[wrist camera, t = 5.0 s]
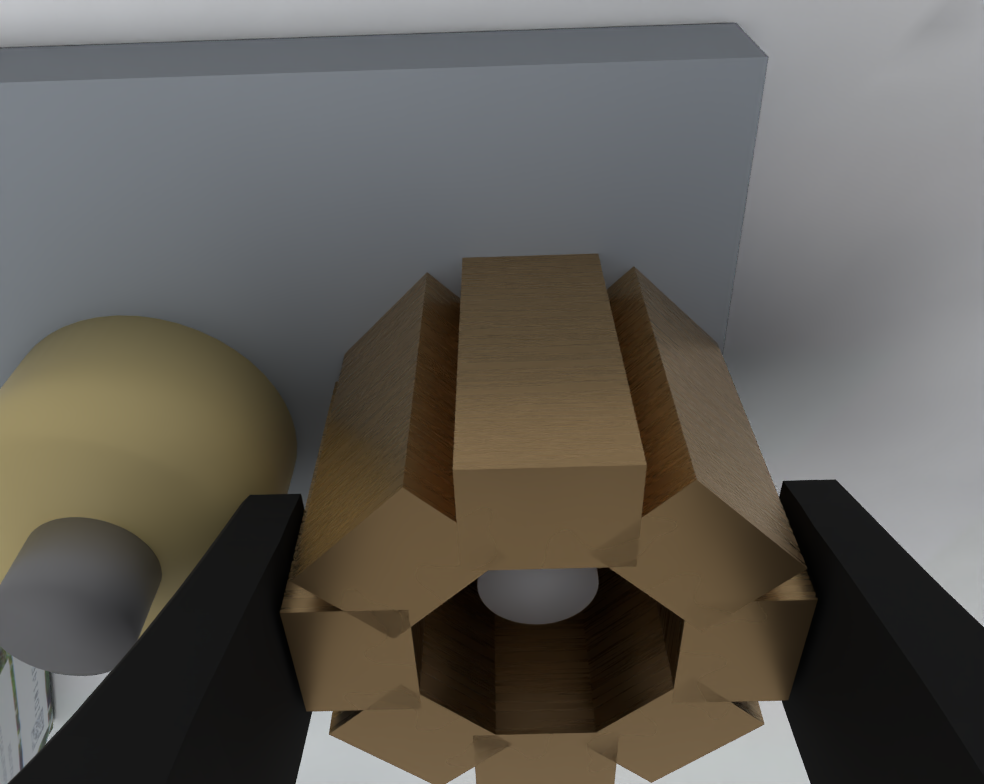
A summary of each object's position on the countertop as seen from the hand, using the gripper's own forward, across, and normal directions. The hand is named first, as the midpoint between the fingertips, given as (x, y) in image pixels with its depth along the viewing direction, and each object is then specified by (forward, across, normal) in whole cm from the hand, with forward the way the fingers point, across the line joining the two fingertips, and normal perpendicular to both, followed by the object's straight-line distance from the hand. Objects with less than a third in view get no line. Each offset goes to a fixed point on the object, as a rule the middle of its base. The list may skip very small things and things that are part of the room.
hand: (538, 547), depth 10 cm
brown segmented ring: (+2, 0, 0) cm, 2 cm away
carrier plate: (+4, +2, 0) cm, 5 cm away
